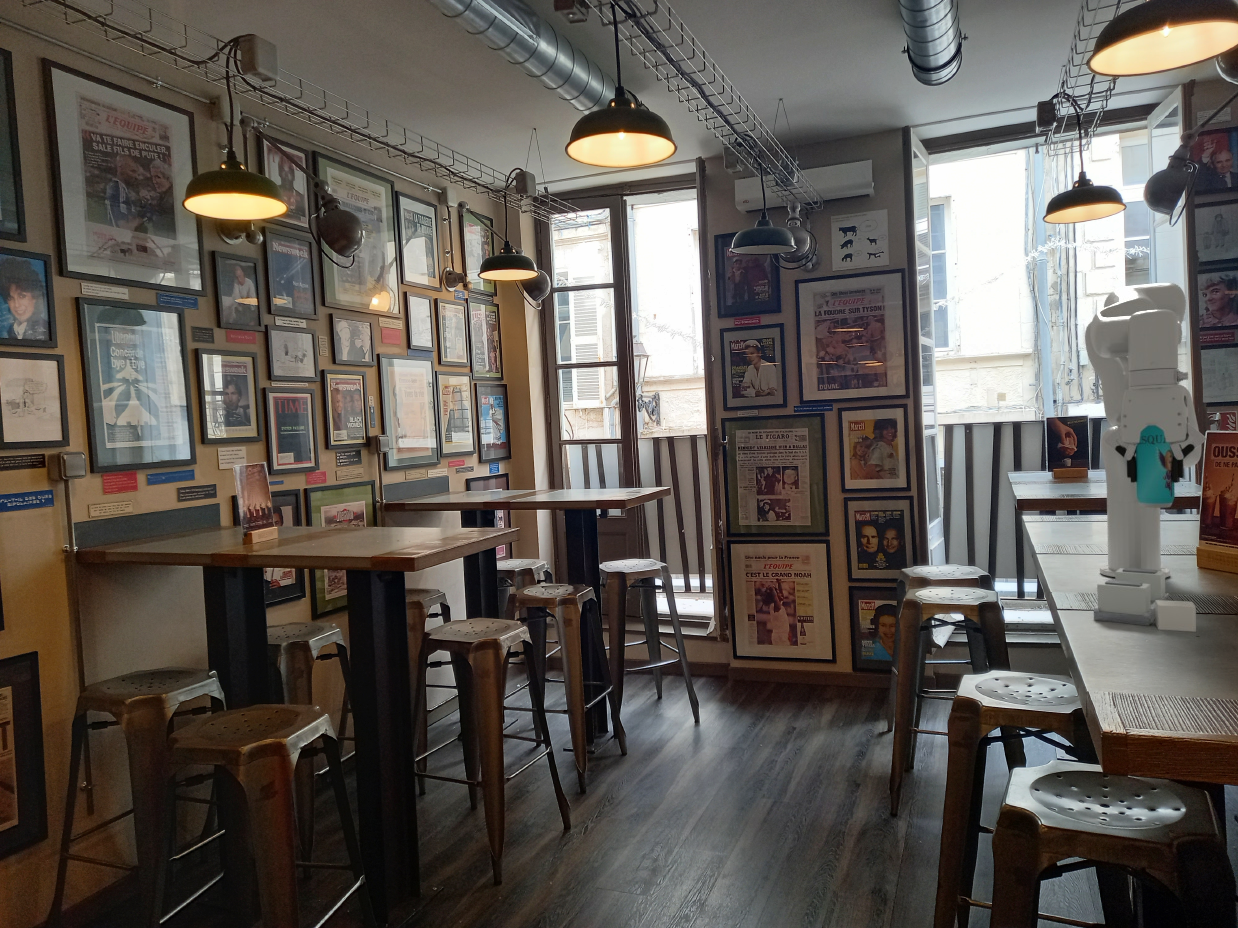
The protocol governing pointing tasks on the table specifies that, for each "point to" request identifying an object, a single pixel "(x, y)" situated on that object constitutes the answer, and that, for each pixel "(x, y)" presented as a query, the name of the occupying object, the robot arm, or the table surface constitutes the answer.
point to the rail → (1129, 615)
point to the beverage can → (1154, 468)
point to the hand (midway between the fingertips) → (1155, 481)
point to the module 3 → (1175, 615)
